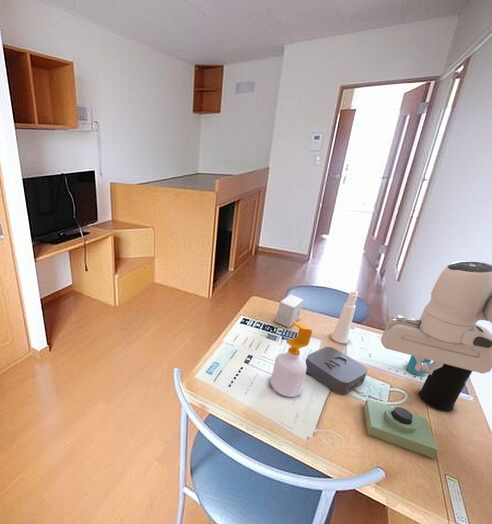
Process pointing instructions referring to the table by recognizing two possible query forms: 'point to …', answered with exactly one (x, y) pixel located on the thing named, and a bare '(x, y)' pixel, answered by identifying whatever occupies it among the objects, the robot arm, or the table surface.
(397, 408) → the dark grey button
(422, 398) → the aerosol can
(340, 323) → the cosmetic bottle
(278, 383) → the soap bottle
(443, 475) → the table surface
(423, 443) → the button block
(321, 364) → the streaming box
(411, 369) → the tube
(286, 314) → the cosmetics box
